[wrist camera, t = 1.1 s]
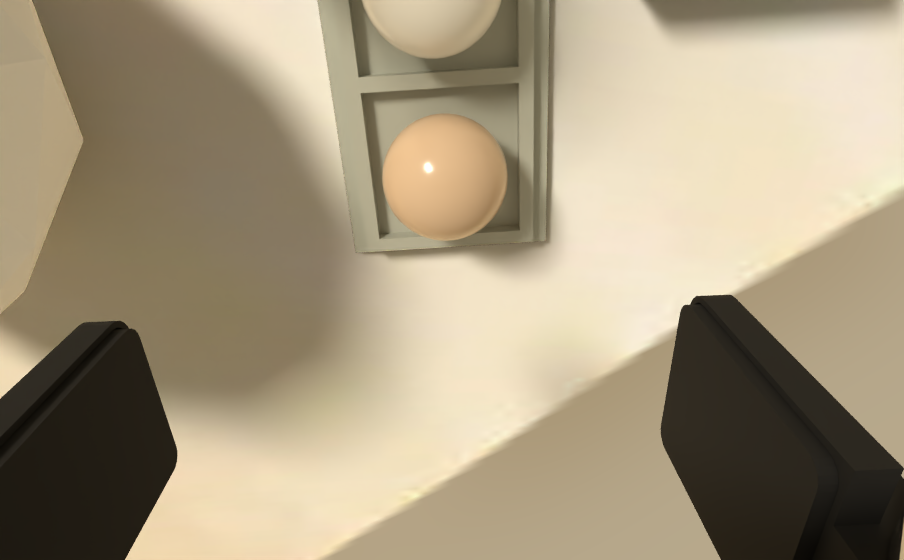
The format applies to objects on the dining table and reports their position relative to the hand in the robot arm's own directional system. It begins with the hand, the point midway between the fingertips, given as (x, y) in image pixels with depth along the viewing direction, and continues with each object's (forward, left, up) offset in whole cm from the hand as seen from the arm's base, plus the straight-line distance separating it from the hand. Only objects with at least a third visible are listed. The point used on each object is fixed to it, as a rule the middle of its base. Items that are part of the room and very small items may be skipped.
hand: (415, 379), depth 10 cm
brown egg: (-1, +1, -17) cm, 17 cm away
